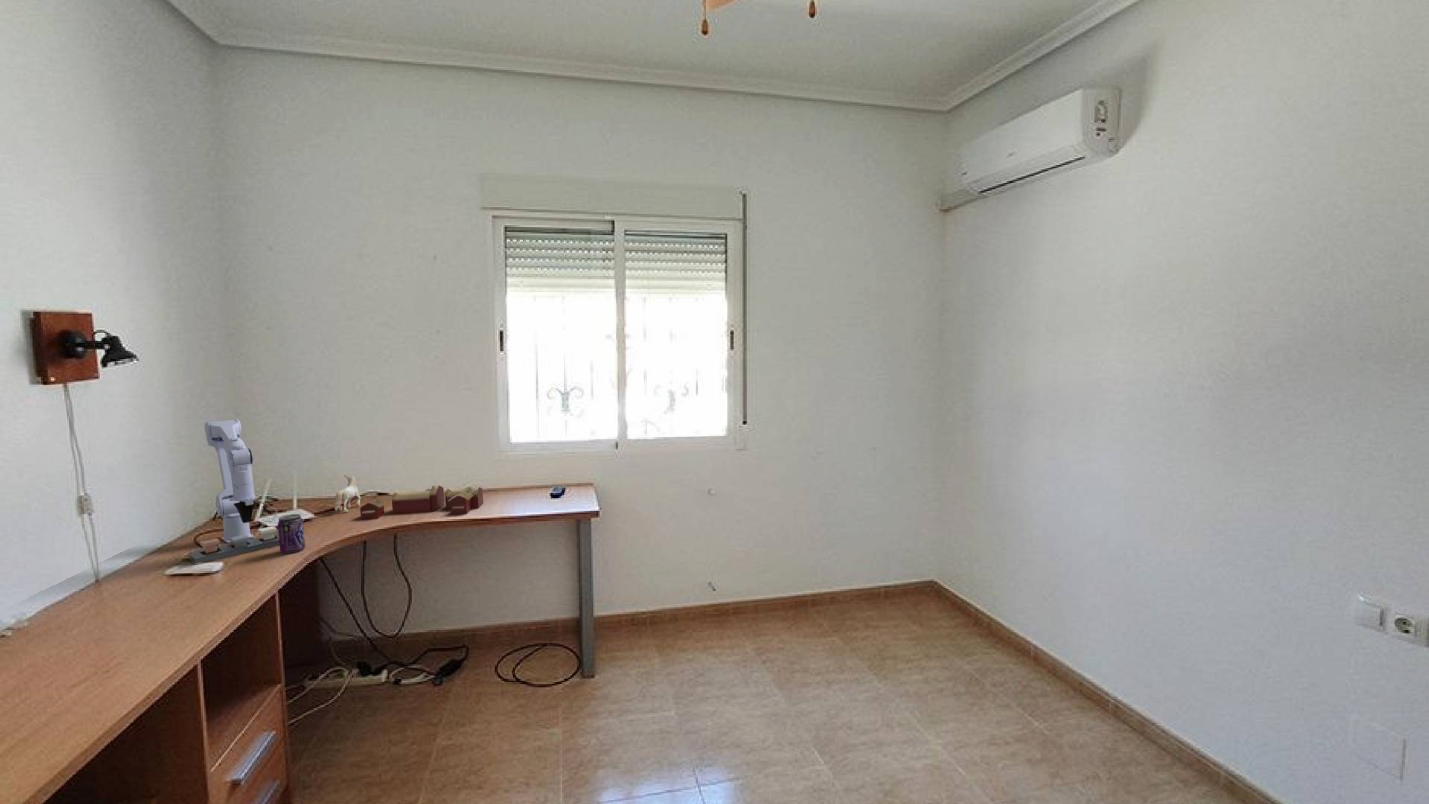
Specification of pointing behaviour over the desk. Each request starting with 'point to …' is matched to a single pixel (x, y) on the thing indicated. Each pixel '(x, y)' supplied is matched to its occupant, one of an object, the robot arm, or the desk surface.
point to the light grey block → (239, 540)
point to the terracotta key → (210, 545)
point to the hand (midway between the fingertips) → (246, 522)
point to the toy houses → (427, 502)
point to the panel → (233, 549)
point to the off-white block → (267, 532)
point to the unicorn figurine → (347, 494)
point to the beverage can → (291, 533)
